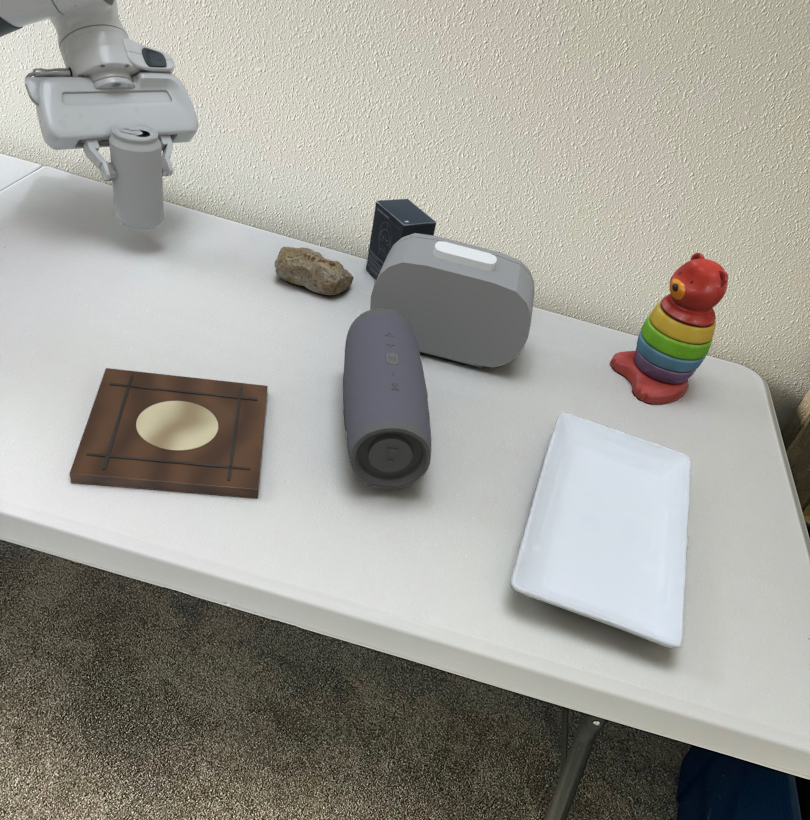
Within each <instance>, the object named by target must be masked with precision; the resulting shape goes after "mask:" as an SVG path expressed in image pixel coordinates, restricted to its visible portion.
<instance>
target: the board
mask: <svg viewBox="0 0 810 820" xmlns="http://www.w3.org/2000/svg"><path fill="white" fill-rule="evenodd" d="M268 387H269V386H268V385H265V384H254V383H246V382H238V381H227V380H219V379H210V378H201V377H191V376H182V375H174V374H173V375H172V374H166V373H165V374H164V373H155V372H145V371H136V370H128V369H117V368H109V367H106V368H105V370H104V372H103V375H102V378H101V381H100V384H99V387H98V388H97V389H98V390H97V392H96V395H95V399H94V401H93V404H92V407H91V410H90V412H89V416H88V419H87V421H86V424H85V427H84V429H83V430H84V431H83V433H82V436H81V438H80V442H79V445H78V447H77V450H76V453H75V456H74V459H73V462H72V465H71V468H70V471H69V473H68V474H69V480H70V483H73V484H86V485H96V486H97V485H98V486H109V487H120V488H121V487H122V488H131V489H132V488H133V489H144V490H157V491H166V492H167V491H168V492H179V493H180V492H181V493H190V494H204V495H214V496H215V495H216V496H227V497H236V498H237V497H239V498H251V499H258V497H259V489H260V479H261V478H260V477H261V467H262V466H261V465H262V455H263V445H264V444H263V443H264V434H265V422H266V414H267V413H266V412H267V411H266V410H267V401H268V389H269V388H268Z"/></svg>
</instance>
